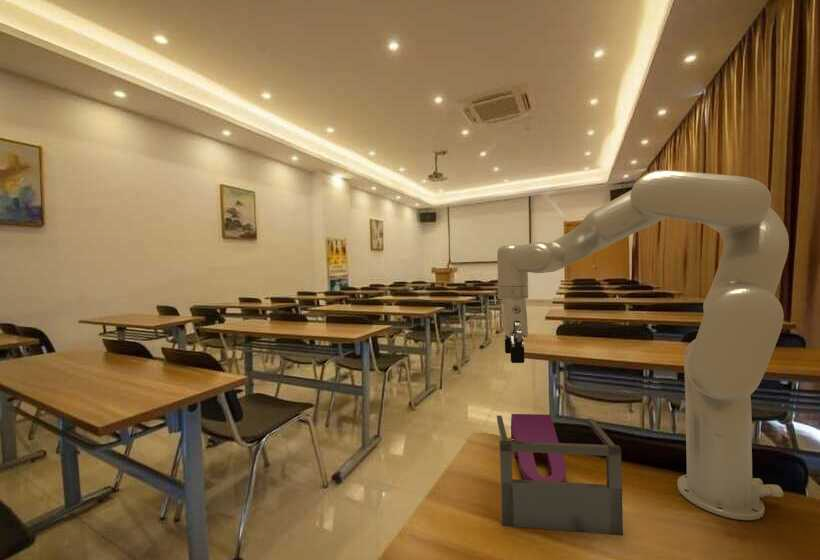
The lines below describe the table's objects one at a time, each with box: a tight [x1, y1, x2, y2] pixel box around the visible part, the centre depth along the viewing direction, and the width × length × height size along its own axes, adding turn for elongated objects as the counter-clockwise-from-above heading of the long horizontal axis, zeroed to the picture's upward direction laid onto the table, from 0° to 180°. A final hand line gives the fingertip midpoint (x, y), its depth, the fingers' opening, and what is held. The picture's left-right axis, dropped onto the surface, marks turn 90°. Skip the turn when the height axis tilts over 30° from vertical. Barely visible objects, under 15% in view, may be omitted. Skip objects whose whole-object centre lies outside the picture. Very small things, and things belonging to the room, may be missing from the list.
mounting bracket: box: [510, 413, 567, 482], centre depth 81 cm, size 9×8×18 cm
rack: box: [496, 415, 624, 536], centre depth 66 cm, size 20×12×15 cm, turn 81°
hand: (514, 357), depth 91 cm, fingers open, 9 cm apart
